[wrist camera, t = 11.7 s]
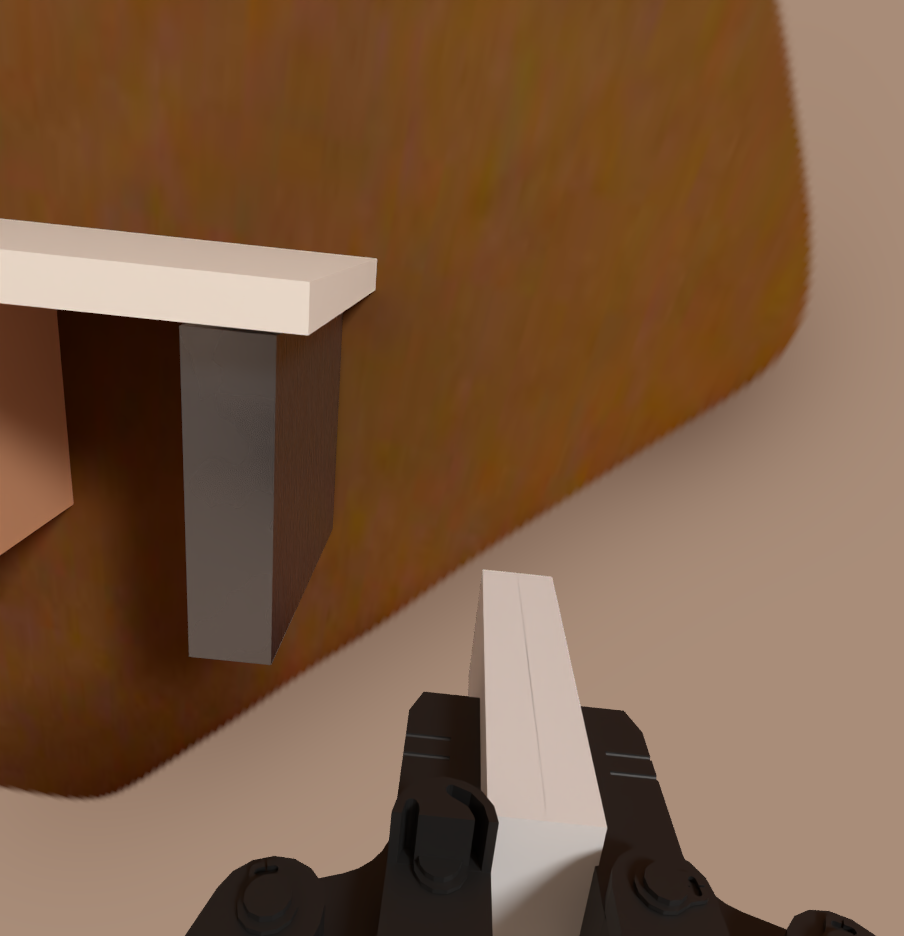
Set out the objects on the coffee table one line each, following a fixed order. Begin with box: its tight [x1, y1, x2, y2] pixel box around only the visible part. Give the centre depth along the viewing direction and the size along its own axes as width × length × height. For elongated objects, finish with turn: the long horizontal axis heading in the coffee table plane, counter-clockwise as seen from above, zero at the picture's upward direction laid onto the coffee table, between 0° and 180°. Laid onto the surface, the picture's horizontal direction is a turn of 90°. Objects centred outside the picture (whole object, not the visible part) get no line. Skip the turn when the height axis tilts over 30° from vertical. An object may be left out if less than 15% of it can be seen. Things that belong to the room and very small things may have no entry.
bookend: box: [179, 312, 343, 665], centre depth 24 cm, size 2×10×10 cm, turn 174°
